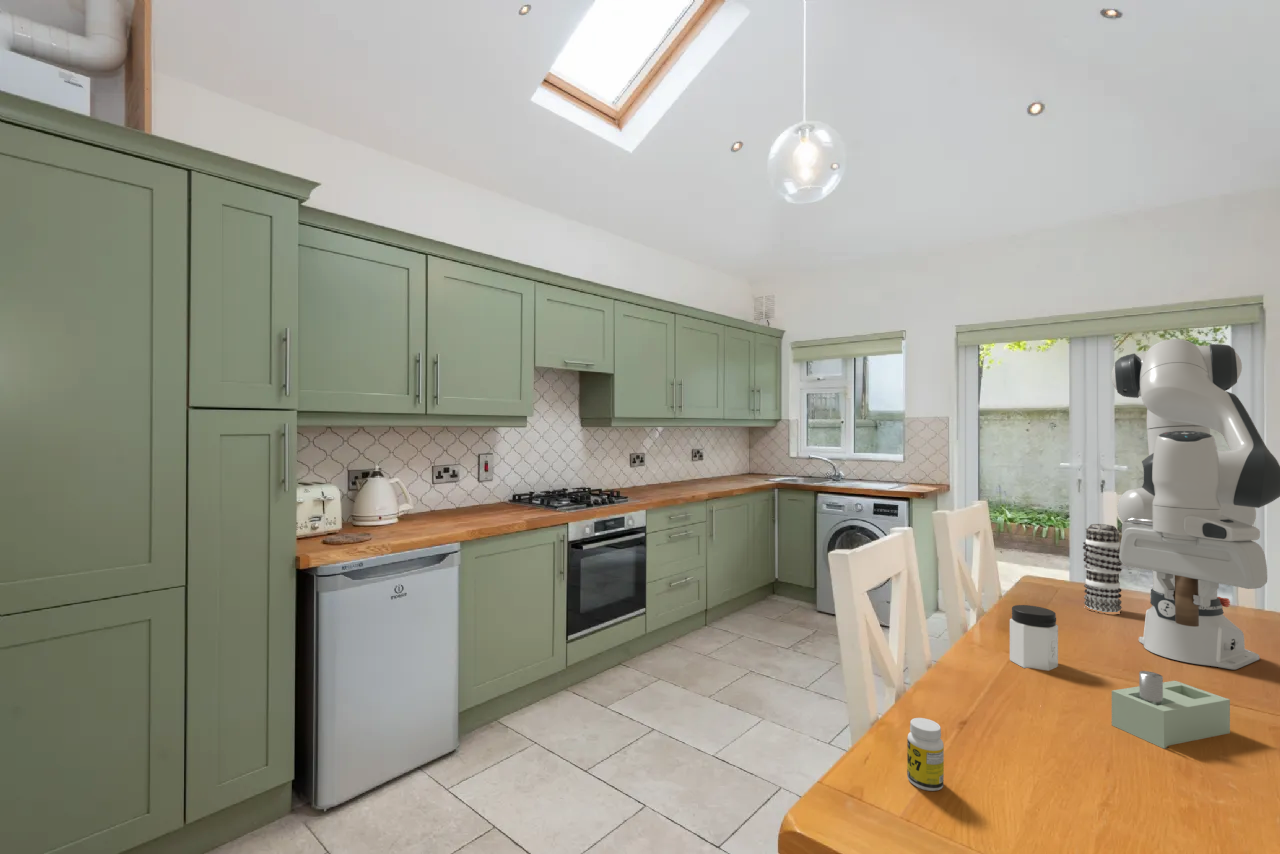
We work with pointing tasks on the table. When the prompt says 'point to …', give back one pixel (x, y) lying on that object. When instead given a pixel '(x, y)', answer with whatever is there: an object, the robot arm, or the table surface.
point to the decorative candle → (1102, 568)
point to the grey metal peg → (1151, 687)
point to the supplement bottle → (925, 755)
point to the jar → (1033, 637)
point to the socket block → (1171, 714)
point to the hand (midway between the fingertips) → (1186, 602)
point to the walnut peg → (1186, 601)
